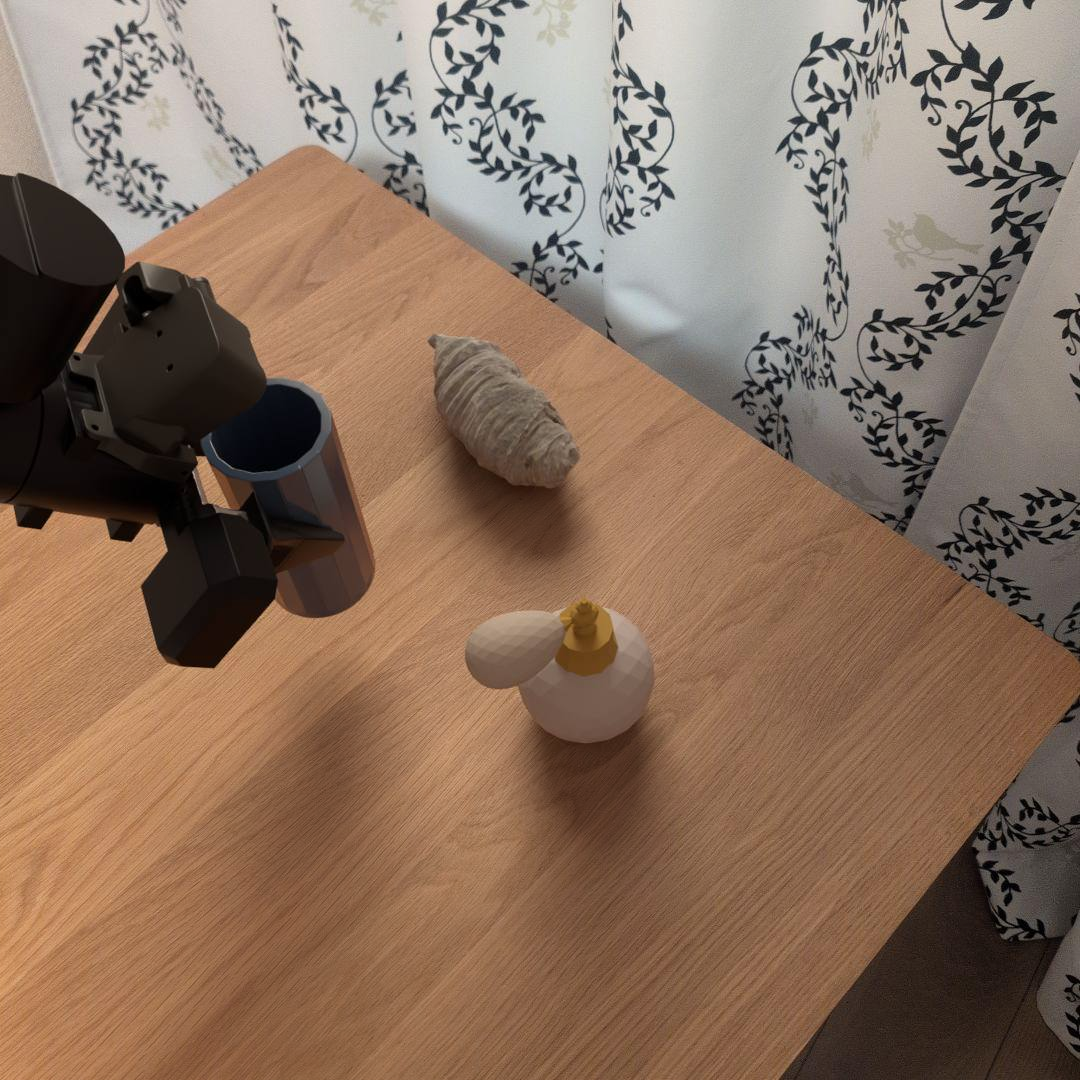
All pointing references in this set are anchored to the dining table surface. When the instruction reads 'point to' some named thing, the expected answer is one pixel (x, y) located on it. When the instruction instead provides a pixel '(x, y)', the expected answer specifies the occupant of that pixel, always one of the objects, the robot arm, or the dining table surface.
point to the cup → (297, 490)
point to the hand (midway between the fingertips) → (321, 495)
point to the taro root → (500, 413)
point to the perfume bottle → (567, 668)
